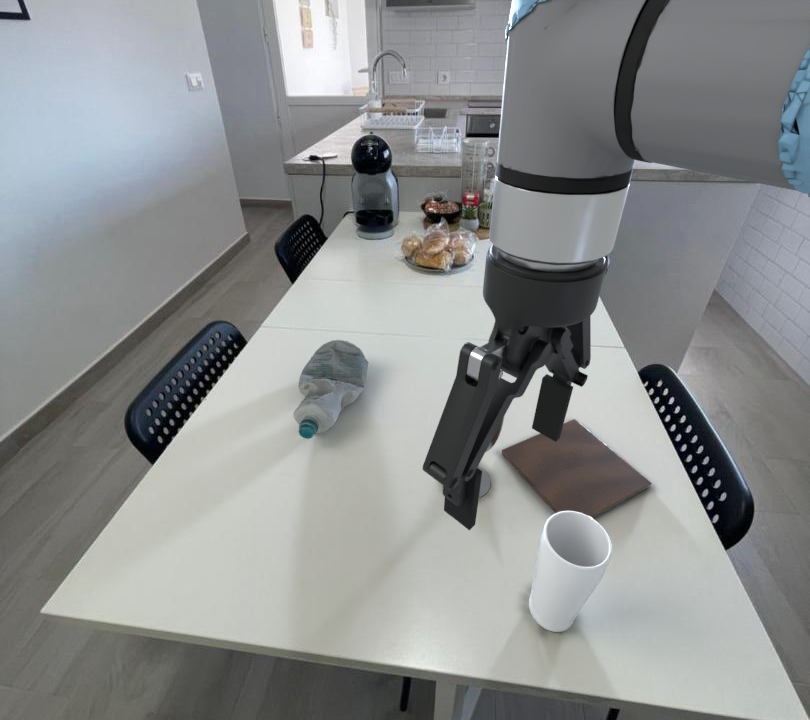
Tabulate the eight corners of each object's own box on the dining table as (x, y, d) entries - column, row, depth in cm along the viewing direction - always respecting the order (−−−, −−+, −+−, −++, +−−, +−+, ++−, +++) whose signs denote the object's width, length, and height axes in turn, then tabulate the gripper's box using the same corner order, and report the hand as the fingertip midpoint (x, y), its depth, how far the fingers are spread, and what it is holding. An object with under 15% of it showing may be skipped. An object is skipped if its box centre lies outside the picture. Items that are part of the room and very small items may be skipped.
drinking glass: (545, 651, 50) (574, 581, 41) (510, 596, 55) (529, 523, 46) (592, 625, 52) (629, 553, 44) (554, 574, 57) (580, 500, 49)
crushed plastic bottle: (316, 359, 96) (266, 441, 76) (315, 331, 92) (262, 410, 72) (376, 370, 95) (341, 456, 74) (377, 341, 91) (341, 424, 70)
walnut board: (649, 487, 68) (651, 483, 68) (571, 530, 62) (572, 525, 62) (573, 422, 80) (574, 418, 79) (501, 453, 74) (501, 449, 74)
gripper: (584, 196, 38) (542, 390, 50) (359, 294, 23) (377, 532, 36) (678, 215, 33) (607, 422, 46) (473, 350, 19) (449, 599, 31)
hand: (506, 471), depth 41 cm, fingers open, 13 cm apart
